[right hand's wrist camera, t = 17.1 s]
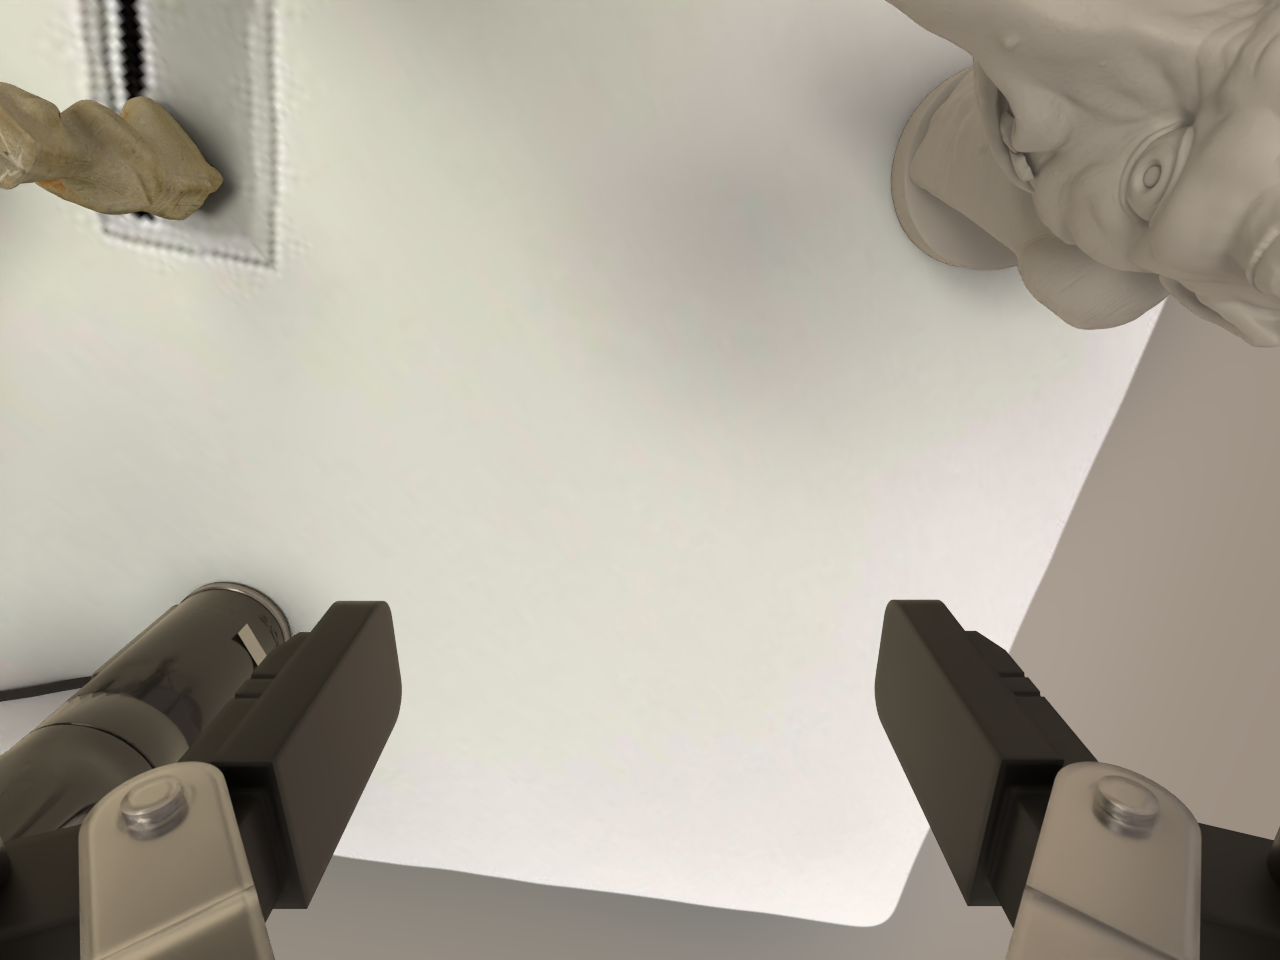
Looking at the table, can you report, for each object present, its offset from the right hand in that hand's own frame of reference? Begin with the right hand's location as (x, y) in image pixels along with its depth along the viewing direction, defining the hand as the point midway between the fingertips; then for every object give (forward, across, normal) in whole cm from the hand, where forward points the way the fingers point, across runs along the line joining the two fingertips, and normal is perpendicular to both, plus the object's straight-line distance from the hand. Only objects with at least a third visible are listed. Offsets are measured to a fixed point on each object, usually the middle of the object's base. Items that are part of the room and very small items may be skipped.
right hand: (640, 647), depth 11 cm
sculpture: (+42, -31, +10) cm, 53 cm away
